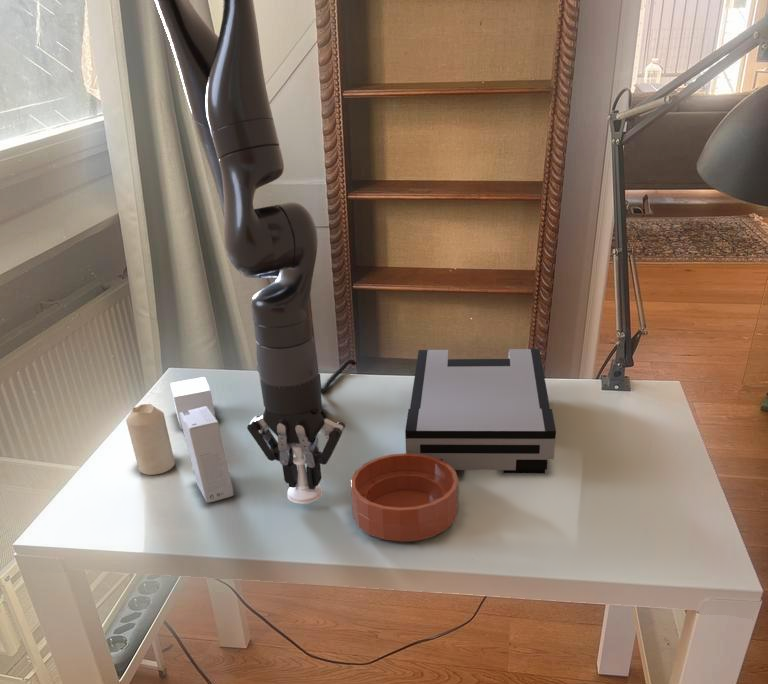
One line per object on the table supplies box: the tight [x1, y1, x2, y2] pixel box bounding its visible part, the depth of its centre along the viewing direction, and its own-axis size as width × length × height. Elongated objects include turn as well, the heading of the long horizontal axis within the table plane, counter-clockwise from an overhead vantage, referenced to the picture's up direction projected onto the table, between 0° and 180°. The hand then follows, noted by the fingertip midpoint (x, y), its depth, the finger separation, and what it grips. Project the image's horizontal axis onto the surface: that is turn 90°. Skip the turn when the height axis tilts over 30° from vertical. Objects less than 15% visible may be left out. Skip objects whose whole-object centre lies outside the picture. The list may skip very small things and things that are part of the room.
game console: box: [404, 348, 557, 475], centre depth 124 cm, size 21×32×8 cm, turn 175°
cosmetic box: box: [180, 406, 235, 503], centre depth 111 cm, size 6×4×12 cm
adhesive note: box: [169, 376, 217, 430], centre depth 133 cm, size 6×6×6 cm
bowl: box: [350, 452, 459, 542], centre depth 106 cm, size 14×14×6 cm
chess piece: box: [286, 443, 323, 505], centre depth 107 cm, size 5×5×10 cm
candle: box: [125, 403, 175, 476], centre depth 119 cm, size 6×6×10 cm
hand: (303, 484), depth 109 cm, fingers closed on chess piece, 2 cm apart
